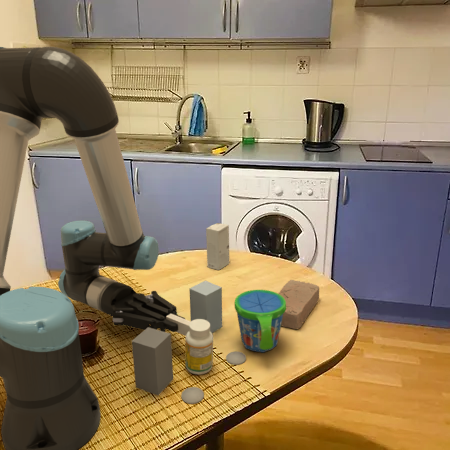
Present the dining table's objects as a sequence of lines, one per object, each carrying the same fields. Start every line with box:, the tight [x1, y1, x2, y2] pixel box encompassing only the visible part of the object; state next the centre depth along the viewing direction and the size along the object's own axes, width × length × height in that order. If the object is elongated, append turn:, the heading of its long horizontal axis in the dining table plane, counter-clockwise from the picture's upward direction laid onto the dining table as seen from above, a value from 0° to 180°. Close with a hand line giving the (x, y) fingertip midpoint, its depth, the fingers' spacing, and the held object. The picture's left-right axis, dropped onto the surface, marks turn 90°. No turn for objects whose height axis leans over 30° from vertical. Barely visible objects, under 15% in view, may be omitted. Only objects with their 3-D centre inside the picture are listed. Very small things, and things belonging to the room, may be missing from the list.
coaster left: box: [180, 386, 205, 405], centre depth 82 cm, size 4×4×1 cm
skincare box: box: [205, 222, 230, 271], centre depth 132 cm, size 6×4×12 cm
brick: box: [278, 279, 320, 330], centre depth 109 cm, size 17×8×5 cm, turn 152°
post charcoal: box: [131, 327, 174, 396], centre depth 84 cm, size 5×5×10 cm
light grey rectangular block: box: [189, 280, 223, 334], centre depth 102 cm, size 5×5×10 cm
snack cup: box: [234, 289, 286, 353], centre depth 96 cm, size 16×10×10 cm
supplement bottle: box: [184, 319, 214, 375], centre depth 88 cm, size 5×5×10 cm
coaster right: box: [225, 350, 247, 366], centre depth 92 cm, size 4×4×1 cm
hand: (193, 330), depth 90 cm, fingers closed
